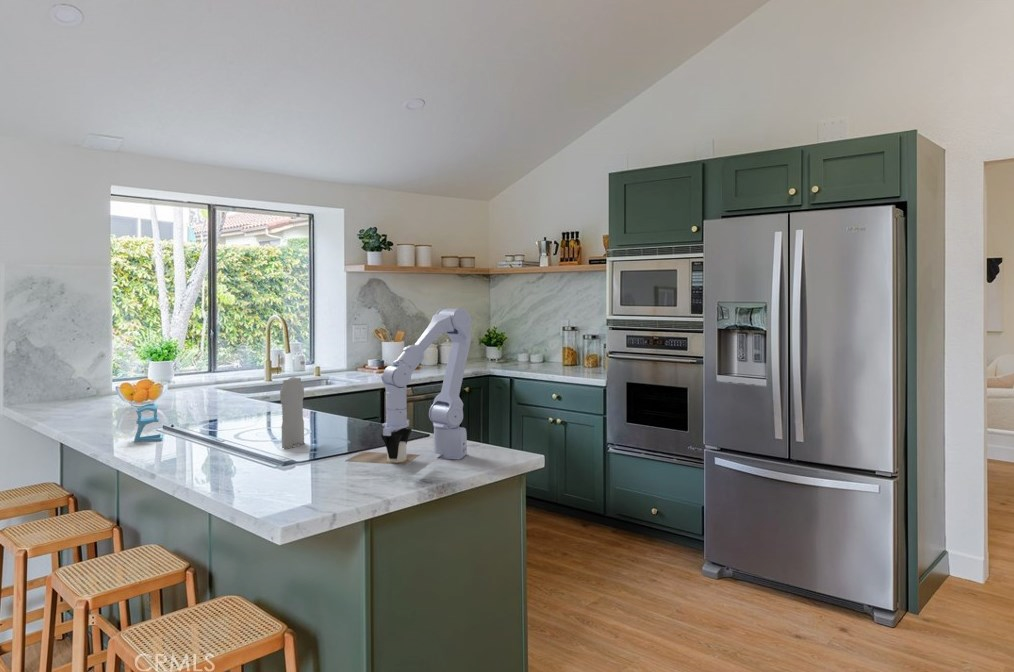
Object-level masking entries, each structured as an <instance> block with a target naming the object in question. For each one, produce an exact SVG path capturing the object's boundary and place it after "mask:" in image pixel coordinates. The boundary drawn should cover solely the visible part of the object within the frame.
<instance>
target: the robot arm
mask: <svg viewBox="0 0 1014 672" xmlns="http://www.w3.org/2000/svg"><path fill="white" fill-rule="evenodd" d="M431 318H432V319H431V321H430V323H428V326H427V327H426V329H424V331H423V332H422V334H421V335H420V336H419V338H418V339H417V341H416V342H415V343H414V344H409V345H407V346H405V347H404V348H403V349H402V350H403V351H402V353H401V354H400V355H399V356H398V357H397V358H396V359H394V360H393V361H392V365H389V366H387V367H385V369H384V371H383V374H382V375H381V380H382V383H383V384H384V389H385V412H386V413H385V417H386V418H385V420H386V421H385V422H384V423H382V424H381V425H382V427H383V428H382V433H381V435H380V436H381V437H380V438H381V439H382V441H383V442H384V443H383V444H385V448H386V453H387V452H388V456H389V459H397V456H398V448H399V443H400V441H404V442H406V445H407V443H408V440H409V437H410V435H411V433H412V428H410V419H408V417H407V416H408V412H407V410H408V409H407V408H408V407H407V385H408V384H410V382H411V379H412V375H413V372H414V371H415V370H416V369H417V367H418V366H419V365H420V364H421V363H422V362H423V360H424V359H425V351H427V349H428V348H429V347H430V346H431V345H432V344H433V343H434V342H435V341H436V339H438V338H439V336H440V335H441V334H444V333H445V334H446V335H447V336H448V337H449V339H450V340H451V345H450V349H449V353H448V359H447V364H446V368H445V373H444V376H443V382H442V385H441V390H440V393H438V394H437V395H436V396H435V397H434V398H433V399H434V400H433V403H432V404H431V406H430V408H429V410H428V418H429V419H430V421H431V422H432V426H433V452H434V453H435V454H437V455H438V454H439V456H438V457H437V459H442V460H444V459H446V460H462V459H463V458H464V457H465V456H466V455H468V450H467V449H468V448H467V446H468V445H467V443H468V442H467V441H468V439H467V438H468V437H467V435H468V434H467V433H468V432H467V429H466V428H465V427H461V426H460V425H461V423H462V422H463V419H464V410H463V409H464V403H463V400H462V399H461V397H460V393H461V387H462V383H463V379H464V374H465V370H466V366H467V361H468V355H469V351H470V347H471V342H472V332H471V331H472V330H471V325H472V321H473V319H472V317H471V315H470V313H469V312H468V311H467V310H466V309H465V308H447V307H441V308H439V309H438V310H437V311H436V314H433V316H432V317H431ZM408 427H409V428H408Z"/></svg>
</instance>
